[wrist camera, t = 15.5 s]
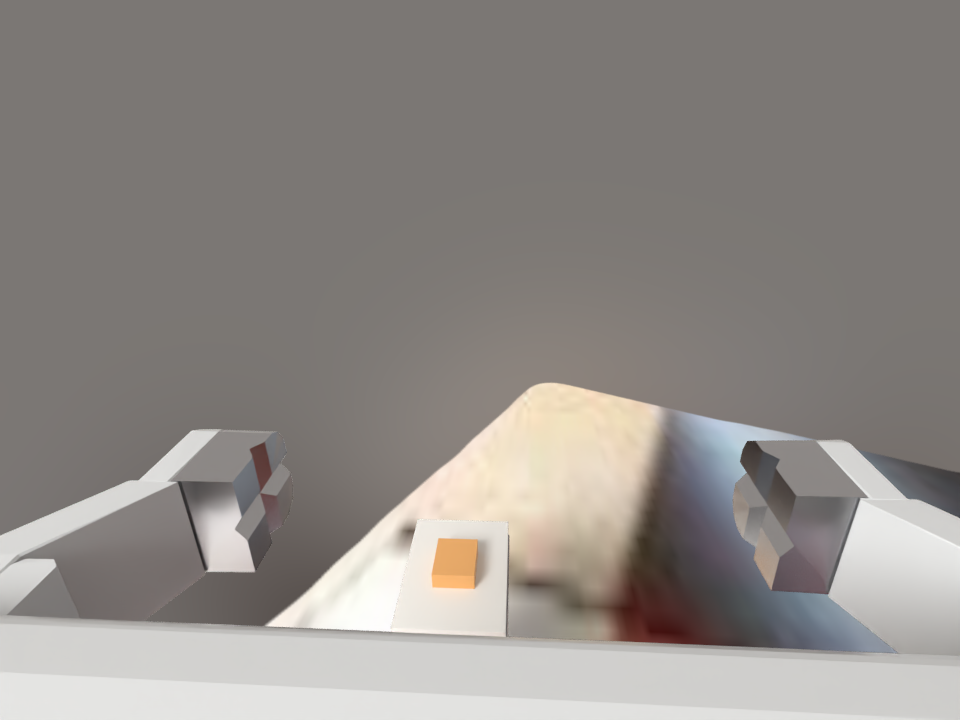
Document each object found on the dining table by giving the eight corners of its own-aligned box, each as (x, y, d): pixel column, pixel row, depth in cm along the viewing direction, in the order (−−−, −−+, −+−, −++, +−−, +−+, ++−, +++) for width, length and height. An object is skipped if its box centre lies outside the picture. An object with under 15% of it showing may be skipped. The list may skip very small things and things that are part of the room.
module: (506, 818, 29) (506, 620, 23) (412, 812, 29) (387, 615, 23) (509, 690, 35) (509, 509, 29) (431, 686, 36) (416, 507, 30)
